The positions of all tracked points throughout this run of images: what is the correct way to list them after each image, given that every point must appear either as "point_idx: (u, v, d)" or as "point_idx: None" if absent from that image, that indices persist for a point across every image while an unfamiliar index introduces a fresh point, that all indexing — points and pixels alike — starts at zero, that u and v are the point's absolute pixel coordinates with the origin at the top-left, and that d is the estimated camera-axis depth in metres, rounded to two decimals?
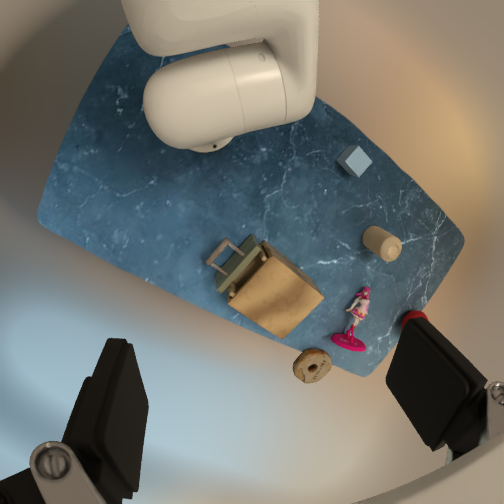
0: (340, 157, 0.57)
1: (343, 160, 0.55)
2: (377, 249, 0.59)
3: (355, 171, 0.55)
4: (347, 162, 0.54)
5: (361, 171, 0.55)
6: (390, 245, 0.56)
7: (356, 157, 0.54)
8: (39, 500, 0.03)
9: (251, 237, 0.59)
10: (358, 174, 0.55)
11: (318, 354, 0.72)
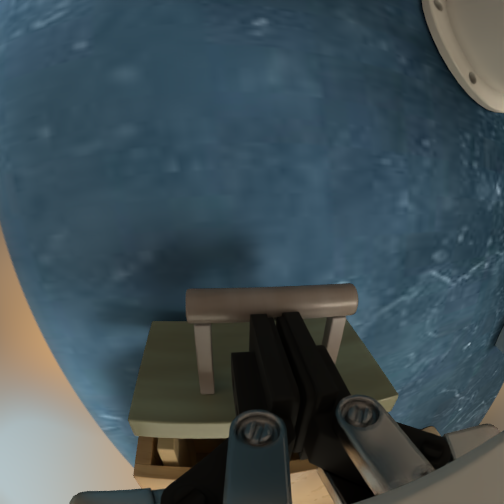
0: None
1: None
2: None
3: None
4: None
5: None
6: None
7: None
8: None
9: (349, 329, 0.16)
10: None
11: None
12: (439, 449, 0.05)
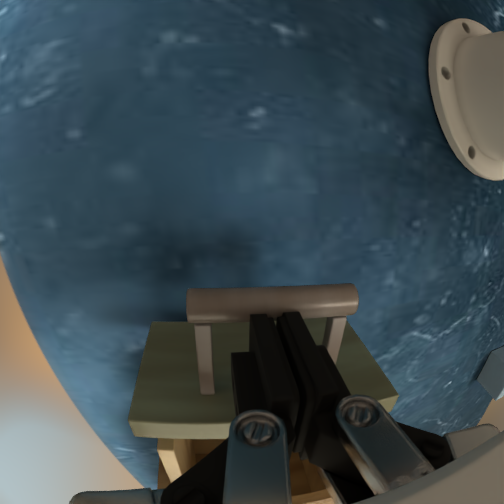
0: (500, 354, 0.24)
1: None
2: None
3: (502, 391, 0.22)
4: None
5: (502, 395, 0.22)
6: None
7: None
8: None
9: (349, 330, 0.16)
10: (498, 397, 0.22)
11: None
12: (439, 449, 0.05)
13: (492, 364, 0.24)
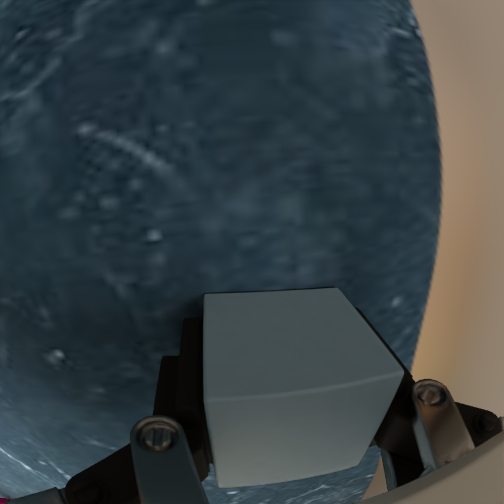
0: (233, 310, 0.08)
1: (213, 368, 0.06)
2: None
3: (224, 469, 0.06)
4: (220, 416, 0.05)
5: (259, 480, 0.07)
6: None
7: (315, 423, 0.06)
8: None
9: None
10: (227, 482, 0.07)
11: None
12: (493, 422, 0.05)
13: None
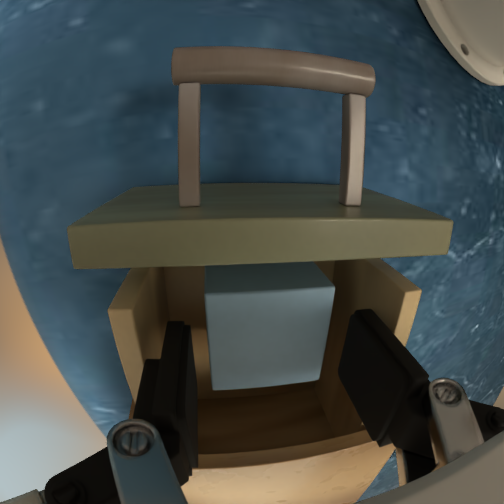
0: None
1: (211, 281, 0.10)
2: None
3: (216, 365, 0.11)
4: (214, 308, 0.10)
5: (242, 382, 0.11)
6: None
7: (276, 321, 0.10)
8: None
9: (369, 190, 0.13)
10: (219, 382, 0.11)
11: None
12: None
13: None
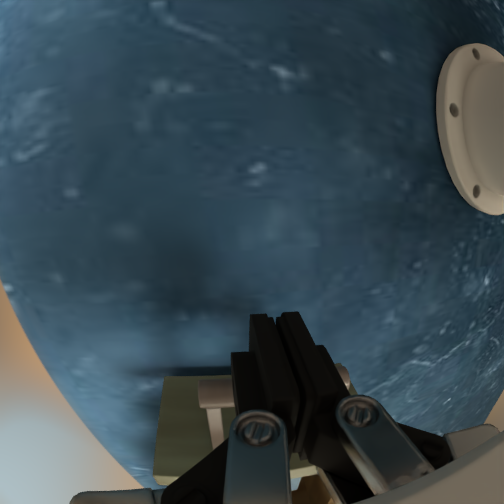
0: None
1: None
2: None
3: None
4: None
5: None
6: None
7: None
8: None
9: None
10: None
11: None
12: (439, 449, 0.05)
13: None
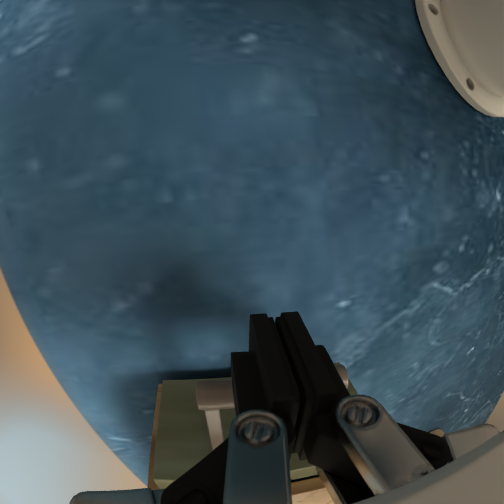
0: None
1: None
2: None
3: None
4: None
5: None
6: None
7: None
8: None
9: None
10: None
11: None
12: (438, 449, 0.05)
13: None
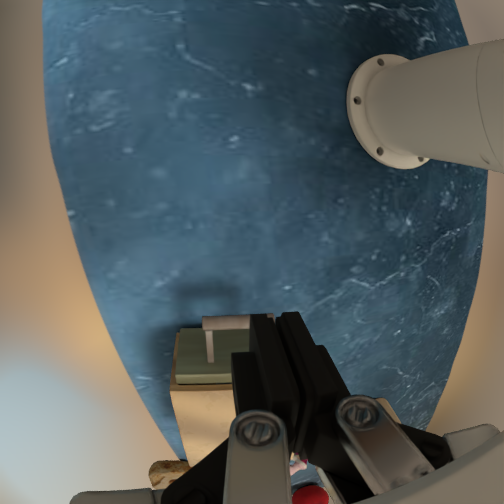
0: None
1: None
2: None
3: None
4: None
5: None
6: None
7: None
8: None
9: None
10: None
11: None
12: (439, 449, 0.05)
13: None
